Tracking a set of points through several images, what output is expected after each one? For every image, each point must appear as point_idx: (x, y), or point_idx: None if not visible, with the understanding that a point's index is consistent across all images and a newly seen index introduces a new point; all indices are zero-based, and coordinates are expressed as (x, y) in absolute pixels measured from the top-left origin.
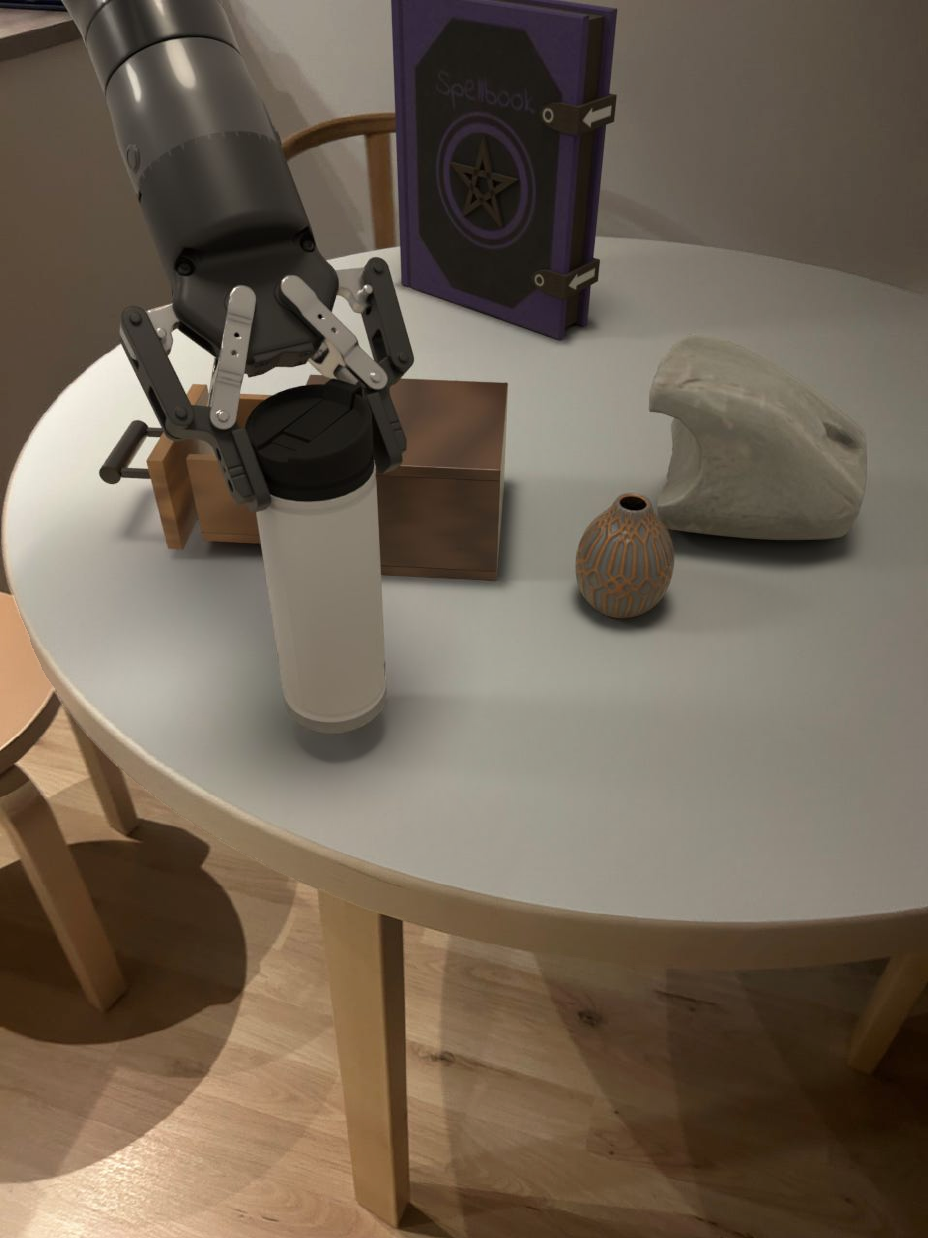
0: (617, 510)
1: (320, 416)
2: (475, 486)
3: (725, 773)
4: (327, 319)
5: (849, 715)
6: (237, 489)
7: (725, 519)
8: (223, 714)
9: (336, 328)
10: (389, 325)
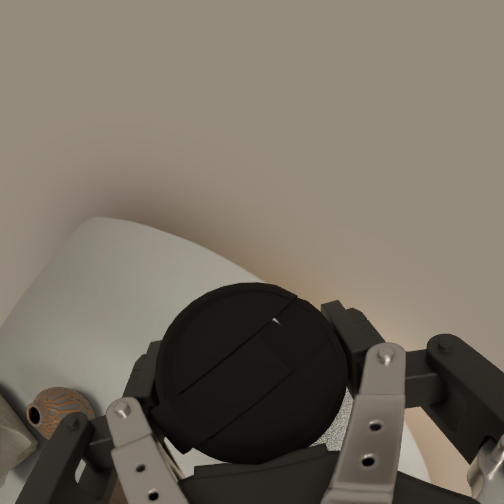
0: (43, 416)
1: (229, 391)
2: (113, 496)
3: (100, 287)
4: (141, 487)
5: (44, 297)
6: (359, 312)
7: (11, 412)
8: (341, 415)
9: (134, 468)
10: (57, 464)
